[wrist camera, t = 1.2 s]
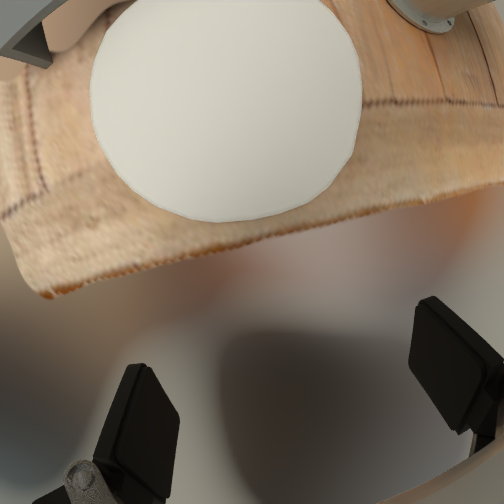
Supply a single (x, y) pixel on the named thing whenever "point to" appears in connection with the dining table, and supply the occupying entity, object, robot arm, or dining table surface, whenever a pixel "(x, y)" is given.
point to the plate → (226, 104)
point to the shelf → (25, 30)
